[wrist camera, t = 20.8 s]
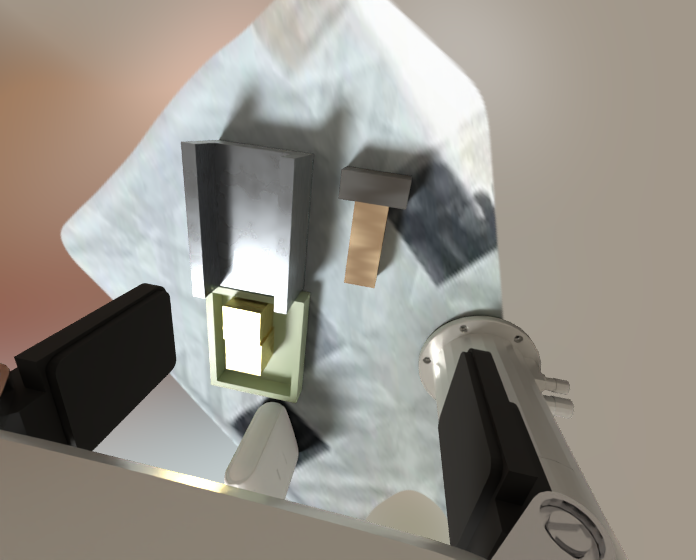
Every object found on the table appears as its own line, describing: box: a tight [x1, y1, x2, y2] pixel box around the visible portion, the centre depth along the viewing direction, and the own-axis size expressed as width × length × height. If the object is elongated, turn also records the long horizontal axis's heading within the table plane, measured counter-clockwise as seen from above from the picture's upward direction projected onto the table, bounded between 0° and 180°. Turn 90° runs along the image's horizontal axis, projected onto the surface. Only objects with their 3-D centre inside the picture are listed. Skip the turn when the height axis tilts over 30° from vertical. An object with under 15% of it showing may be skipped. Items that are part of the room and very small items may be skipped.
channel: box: [181, 140, 314, 314], centre depth 32 cm, size 9×14×6 cm
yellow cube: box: [226, 327, 275, 376], centre depth 39 cm, size 4×4×4 cm
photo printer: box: [224, 402, 298, 500], centre depth 41 cm, size 10×4×12 cm, turn 9°
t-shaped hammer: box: [339, 166, 412, 288], centre depth 32 cm, size 6×3×10 cm
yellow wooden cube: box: [223, 296, 274, 346], centre depth 37 cm, size 4×4×4 cm
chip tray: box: [206, 286, 310, 403], centre depth 40 cm, size 11×14×2 cm
